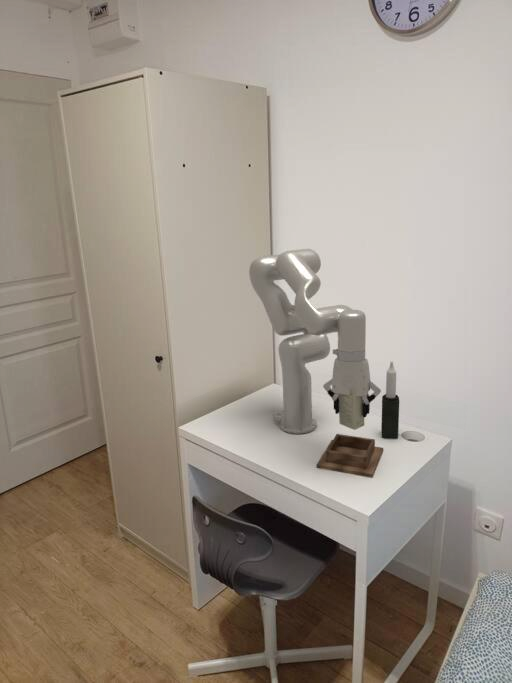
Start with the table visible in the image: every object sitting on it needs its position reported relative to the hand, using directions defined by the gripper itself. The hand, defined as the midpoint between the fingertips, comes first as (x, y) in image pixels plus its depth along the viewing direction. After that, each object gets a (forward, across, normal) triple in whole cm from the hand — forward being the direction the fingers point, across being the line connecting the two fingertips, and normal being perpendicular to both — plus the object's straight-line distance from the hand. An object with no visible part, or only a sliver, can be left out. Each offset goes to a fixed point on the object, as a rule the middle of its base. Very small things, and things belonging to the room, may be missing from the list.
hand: (351, 413), depth 143 cm
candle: (+15, +8, +19) cm, 25 cm away
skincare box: (+4, 0, 0) cm, 4 cm away
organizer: (+15, 0, 0) cm, 15 cm away
